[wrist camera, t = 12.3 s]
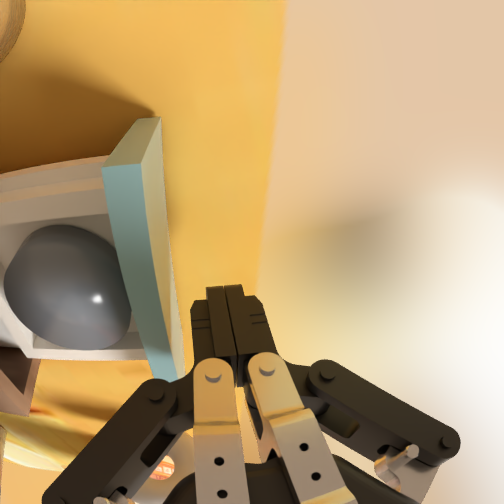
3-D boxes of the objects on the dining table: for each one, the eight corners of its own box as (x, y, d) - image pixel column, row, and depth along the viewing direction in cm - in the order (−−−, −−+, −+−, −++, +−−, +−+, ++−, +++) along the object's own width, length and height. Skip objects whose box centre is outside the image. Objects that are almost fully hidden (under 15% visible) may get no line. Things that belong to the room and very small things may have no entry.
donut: (110, 424, 27) (112, 507, 19) (107, 412, 25) (107, 503, 17) (199, 429, 30) (211, 510, 22) (203, 418, 28) (218, 506, 20)
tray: (-18, 335, 16) (-39, 398, 11) (-91, 177, 8) (-147, 232, 3) (182, 336, 19) (189, 419, 15) (161, 116, 11) (140, 163, 7)
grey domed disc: (58, 330, 15) (51, 355, 13) (-4, 245, 11) (-19, 269, 9) (153, 312, 15) (152, 340, 14) (100, 207, 11) (88, 232, 10)
